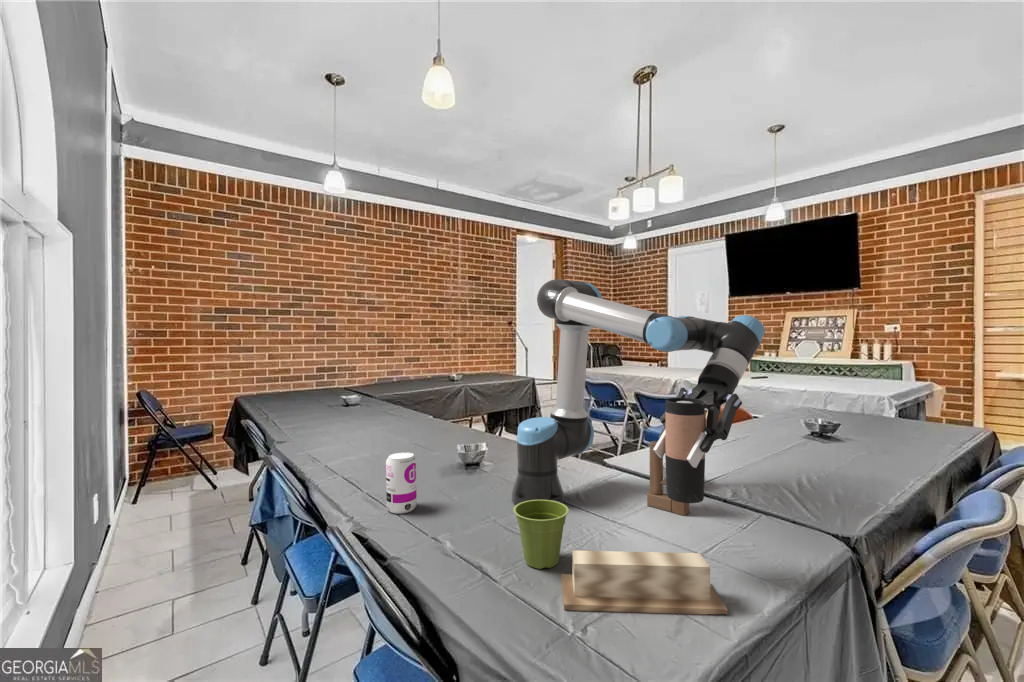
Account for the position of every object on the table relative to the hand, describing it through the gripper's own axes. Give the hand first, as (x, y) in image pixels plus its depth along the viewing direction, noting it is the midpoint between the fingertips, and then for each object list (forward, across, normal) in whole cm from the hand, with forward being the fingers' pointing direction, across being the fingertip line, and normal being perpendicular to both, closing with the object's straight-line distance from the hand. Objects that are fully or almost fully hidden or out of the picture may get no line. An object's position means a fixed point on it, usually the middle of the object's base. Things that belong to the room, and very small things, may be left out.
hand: (673, 458), depth 91 cm
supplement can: (+42, +63, +9) cm, 76 cm away
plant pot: (+31, +18, -3) cm, 36 cm away
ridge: (+25, -2, -8) cm, 26 cm away
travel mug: (+4, 0, -9) cm, 9 cm away
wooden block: (-2, +23, -35) cm, 42 cm away
